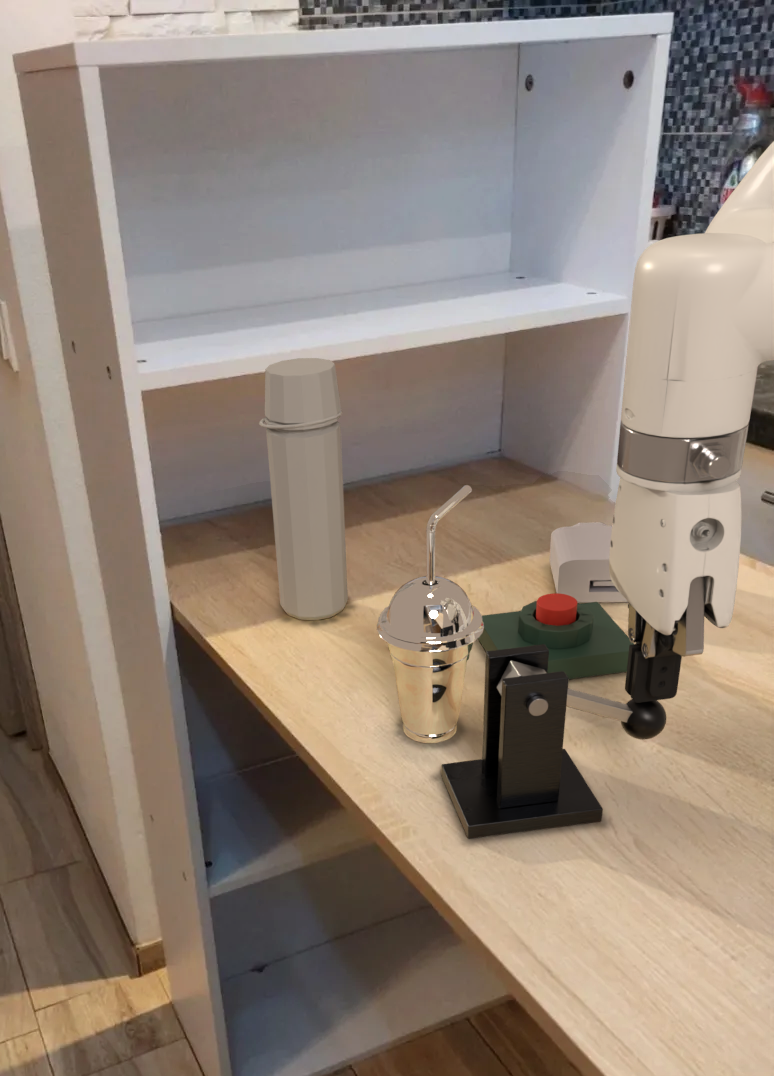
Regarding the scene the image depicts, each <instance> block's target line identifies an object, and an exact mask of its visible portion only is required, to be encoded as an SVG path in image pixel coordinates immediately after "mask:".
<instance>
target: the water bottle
mask: <svg viewBox="0 0 774 1076" xmlns="http://www.w3.org/2000/svg"><path fill="white" fill-rule="evenodd" d="M342 415H343V411H342V405H341V398H340V391H339V384H338V377H337V369H336V363H335V362H333V361H332V360H330V359H325V358H319V357H299V358H292V359H284V360H279V361H277V362H273V363H271V364H269V365H268V366H267V367H266V368H265V370H264V416H265V417H263V418H261V419H260V420H259V422H258V425H259V426H261V427H262V428H266V429H265V431H266V432H265V434H266V444H267V457H268V469H269V483H270V494H271V507H272V519H273V531H274V541H275V542H274V544H275V545H274V546H275V555H276V567H277V569H276V570H277V579H278V592H279V593H278V594H279V604H280V606H281V608H282V609H283V611H284V612H285V613H286V614H287V616H288V617H289V616H290V617H292V618H295V619H297V620H303V621H319V620H324V619H330V618H332V617H334V616H336V615H337V614H339V613H341V612H342V611H343V610H344V609H345V608H346V605H347V603H348V600H349V594H348V593H349V592H348V591H349V590H348V569H347V567H348V566H347V545H346V520H345V501H344V500H345V499H344V498H345V497H344V474H343V473H344V472H343V453H342V450H343V449H342V429H341V428H342V427H341V425H342V424H341V422H339V419H340V418H341V416H342Z"/></svg>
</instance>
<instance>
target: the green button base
mask: <svg viewBox="0 0 774 1076" xmlns="http://www.w3.org/2000/svg"><path fill="white" fill-rule="evenodd" d="M536 606H537V600H534V601H532V602H530V603H528V604H526V605H523V606H522V609H521V610H516V611H507V612H500V613H492V614H483V615H482V614H481V615H482V621H483V624H484V629H483V633H482V634H481V636H480V637H479V638H478V639H477V640H478V641H479V643H480V644H481V646H482V648H483V650H484V651H485V652H486V651H493V650H502V649H510V648H518V647H526V646H534V645H543V644H545V645H546V647H547V648H548V650H549V659H548V673H552V672H560V671H564V672H565V673H566V675H567V676H568V678H569V680H571V679H579V678H588V677H595V676H596V677H597V676H605V675H613V674H621V673H627V663H628V654H629V645H633V644H635V643H631V642H630V640H629V637H628V634H626V632H624V631H623V629H622V628H621V627H620V625H618V624H617V623H616V621H615V620H614V619H613V618H612V617H611V615H609V613H608V612H607V611H606V609H604V607H603V606H602V605H601V604H600V602H584V603H577V614H576V621H575V622H574V623H571V624H569V625H561V626H556V625H547V624H544V623H541V622H539V621H537V620H536Z"/></svg>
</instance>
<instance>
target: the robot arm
mask: <svg viewBox="0 0 774 1076" xmlns="http://www.w3.org/2000/svg"><path fill="white" fill-rule="evenodd" d="M628 325H629V326H628V335H627V336H628V337H627V344H626V345H627V346H626V355H625V356H626V359H625V368H624V378H623V379H624V381H623V391H622V401H621V412H620V424H619V425H620V426H619V434H618V446H617V456H616V468H615V473H616V475H618V477H619V480H618V481H619V482H618V487H617V493H616V498H615V503H614V504H615V505H614V511H613V516H612V517H613V518H612V523H611V526H612V533H611V542H610V555H609V573H610V578H611V580H612V582H613V584H614V586H615V587H616V588H617V590H618V591H619V592H620V593H621V594H622V595H623V597H624V598H625V599H626V600H627V601H628V602H627V603H628V604H627V608H628V619H627V620H628V621H627V622H628V623H627V636H628V638H629V640H630V642H631V643H634V644H633V645H629V654H628V663H627V672H625V684H624V690H625V692H626V693H627V694H628V696H630V698H631V699H633V701H634V702H636V703H641V702H648V701H656V700H657V701H662V700H670V699H673V698H675V697H676V695H677V693H678V688H679V687H678V686H679V678H680V672H681V666H682V665H681V664H682V657H683V658H684V657H691V656H692V657H693V656H699V655H702V654H704V649H705V619H707V620H708V622H710V623H711V624H712V625H713V626H715V628H719V629H726V628H728V627H729V626H730V625H731V622H732V619H733V616H734V609H735V605H736V604H735V603H736V594H737V587H738V579H739V578H738V577H739V569H740V568H739V567H740V559H741V558H740V557H741V556H740V555H741V544H742V521H743V520H742V494H741V493H742V492H741V484H739V482H738V480H739V478H740V477H741V475H742V469H743V463H744V457H745V450H746V446H747V445H746V444H747V439H748V431H749V427H750V419H751V412H752V408H753V407H752V406H753V402H754V401H753V400H754V394H755V388H756V382H757V375H758V369H759V368H758V367H759V366H760V365H761V364H762V363H765V362H768V361H769V362H771V361H774V140H773V141H772V142H771V143H770V144H769V146H768V147H767V148H766V149H765V150H764V151H763V152H762V153H761V155H760V156H759V157H758V158H757V160H756V161H755V162H754V163H753V165H752V166H751V167H750V169H749V170H748V171H747V173H746V174H745V175H744V177H742V179H741V180H740V181H739V183H738V184H737V185H736V187H735V188H734V190H733V191H732V192H731V194H729V196H728V197H727V199H725V201H724V203H723V204H722V206H721V207H720V208H719V210H718V211H717V213H715V215H714V217H713V218H712V219H711V221H710V223H709V225H708V226H707V228H706V229H705V232H704V233H703V232H702V233H692V234H682V235H676V236H671V237H666V238H663V239H661V240H658V241H655V242H653V243H651V244H650V245H649V246H647V247H646V248H645V249H644V250H643V251H642V253H641V254H640V256H639V257H638V259H637V262H636V264H635V268H634V274H633V282H632V292H631V303H630V313H629V324H628Z"/></svg>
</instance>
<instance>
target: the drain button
mask: <svg viewBox="0 0 774 1076" xmlns="http://www.w3.org/2000/svg"><path fill="white" fill-rule="evenodd" d="M536 601H537V606H536V620H537V621H539V622H541V623H544V624H547V625H556V626H561V625H569V624H571V623H574V622H575V621H576V614H577V600H576V599H575V598H573V597H572V596H569V595H566V594H559V593H557V592H556V593H555V592H554V593H547V594H543V595H541V596H539V597H538V598H537V599H536Z"/></svg>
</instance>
